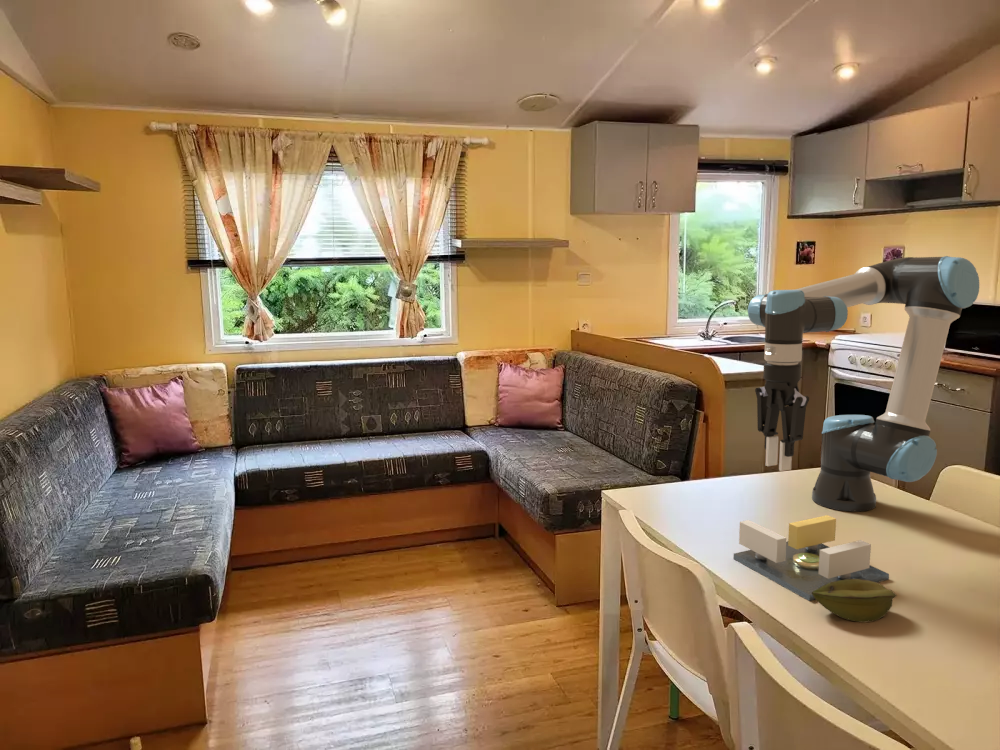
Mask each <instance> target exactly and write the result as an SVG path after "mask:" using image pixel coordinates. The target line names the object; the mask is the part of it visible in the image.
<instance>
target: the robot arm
mask: <svg viewBox="0 0 1000 750" xmlns="http://www.w3.org/2000/svg"><path fill="white" fill-rule="evenodd" d="M979 276H980V275H979V273H978V272H977V268H976V266H975V265H974V264H973V263H972V262H971V261H970V260H969V259H966V258H965V257H959V256H958V257H957V256H955V257H954V256H950V255H949V256H948V255H946V256H945V255H944V256H925V257H924V256H923V257H922V256H921V257H920V256H919V257H917V256H916V257H914V256H912V257H911V256H906V257H899V258H893V259H890V260H887V261H882V262H880V263H876V264H872V265H869V266H865V267H861V268H859V269H858V270H856V271H855V273H852V274H849V275H847V276H842V277H838V278H833V279H831V280H827V281H822V282H818V283H815V284H810V285H807V286H804V287H800V288H796V289H795V288H794V289H774V290H770V291H769V292H768V293H765V294H757V295H755V296H754V297H753V298H752V299H751V300H750V301H749V303H748V306H747V316H748V318H749V319H748V320H750V322H751V323H752V324H754V325H756V326H759V327H760V326H761V327H763V328H764V356H763V358H764V360H765V361H766V362H764V364H763V379H764V381H765V383H764V386H762V387H755V389H754V392H755V395H756V404H757V405H756V407H757V411H756V413H757V417H756V419H757V431H758V432H761V433H762V434H763V436H764V450H765V467H766V466H767V467H771V466H777V465H778V471H780V472H785V471H791V470H792V460H793V459H792V458H793V456H794V455H795V454H794V453H795V451H794V450H795V442H797V441H801V440H803V437H804V429H805V420H806V411H807V409H806V408H807V407H808V404H809V401H810V397H809V396H808V395H803V394H802V393H800V389H799V386H798V385H799V382H800V381H801V378H802V364H801V363H800V362H802V360H803V358H802V357H803V337H804V334H805V333H819V332H820V333H822V332H826V333H827V332H828V333H829V332H832V331H836V330H838V329H841V328H842V327H843V326H844V325H845V323H846V322H847V319H848V314H849V313H848V312H849V311H848V308H850V307H851V308H852V307H854V306H858V305H861V304H863V305H866V306H873V305H877V304H883V303H884V304H898V305H904V311H905V312H906V313H907V315H908V317H909V318H908V323H907V326H906V330H905V335H904V338H903V342H902V345H901V350H900V353H899V357H898V362H897V365H896V370H895V374H894V377H893V382H892V386H891V388H890V389H891V390H890V393H889V396H888V401H887V404H886V409H885V412H884V413H883V414H881V415H879V416H877V417H876V419H875V420H874V417H873V416H871V415H865V414H839V415H831V416H828V417H826V418H825V419H824V421H823V426H822V431H821V451H820V454H821V455H820V457H821V458H820V471H819V474H818V477H817V478H816V481H815V483H814V486H813V487H812V493H811V499H812V501H813V502H814V503H815V504H818V505H819V506H821V507H822V506H823V507H825V508H827V509H833V510H836V511H837V510H838V511H844V512H865V511H866V512H867V511H870V510H873V509H875V507H876V506H877V495H876V493H875V490H874V487H873V482H872V478H871V473H873V474H876V475H881V476H883V477H887V478H889V479H891V480H895V481H901V482H906V483H912V482H917V481H919V480H920V479H922V478H923V477H924V476H926V475H927V474H928V473H929V472H930V471H931V469H932V468H933V466H934V464H935V461H936V459H937V456H938V449H937V444H936V442H935V440H934V439H933V438H931V437H930V434H931V428H930V426H929V425H928V424H927V422H926V420H927V416H928V412H929V408H930V404H931V401H932V397H933V394H934V393H933V392H934V388H935V385H936V380H937V377H938V373H939V368H940V365H941V361H942V357H943V355H944V350H945V347H946V343H947V338H948V334H949V329H950V326H951V324H952V323H953V322H954V321H956V320H957V319H959V318H960V317H961V315H962V310H963V309H966V308H969V307H971V306H972V305H973V304H974V302H975V303H976V301H977V299H978V296H979V293H980V277H979ZM780 415H781V416H780ZM779 416H780V417H781V427H782V439H780V441H779V436H778V434H779V432H777V427H778V422H779V418H780V417H779ZM778 454H779V460H778ZM778 461H779V463H778Z"/></svg>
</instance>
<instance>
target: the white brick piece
mask: <svg viewBox="0 0 1000 750" xmlns="http://www.w3.org/2000/svg"><path fill="white" fill-rule="evenodd" d="M828 547H829V548H825V549H821V550H820V553H819V572H818V574H820V575H822V576H824V577H826V578H828V579H829V578H833V577H837V576H838V577H839V578H841V579H850V578H851V573H852V572H856V571H860V570H864V569H868V568H870V565H871V553H872V552H871V551H872V544H871V543H869V542H866V541H864V540H862V539H859V540H856V541H851V542H847V543H843V544H838V545H834V546H828Z"/></svg>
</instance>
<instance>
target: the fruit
mask: <svg viewBox="0 0 1000 750" xmlns="http://www.w3.org/2000/svg"><path fill="white" fill-rule="evenodd" d="M812 595H813V596H814V598H815V600H816V602H817V603H819V605H820V606H822V607H823V608H824V609H826V610H827V611H828V612H830V613H832V614H834V615H836V616H837V617H840V618H841V619H844V620H848V621H853V622H859V623H869V622H875V621H878V620H879V619H881V618H883V617H884V616H885V615H887V614H888V612H889V611H890V610H891V608H892V606H893V599H895V598H896V597H897V594H896V593H895V592H894V591H892V590H891V589H887V588H886V587H885V586H884V585H883V584H881V583H880V582H878V583H876V582H873V581H869V580H862V579H845V580H839V581H834V582H831V583H828V584H826V585H823V586H822V587H820V588H818V589H817V590H815V591H813V592H812Z"/></svg>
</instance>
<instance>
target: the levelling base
mask: <svg viewBox="0 0 1000 750" xmlns="http://www.w3.org/2000/svg"><path fill="white" fill-rule="evenodd" d="M829 547H830V546H828V545H826V544H825V543H822V544H818V547H817V550H808V549H806V548H801V549H795V548H793V547H790V546H788V540H786V559H785V561H783V562H778V563H775V562H774V561H772V560H770V559H768V558H767V559H765V560H761V559H757V558H756V557H755V553H756V552H754V551H752V550H750V549H748V550H744V551H740V552H735V553H733V560H735V561H736V562H738V563H740V564H741V565H743V566H745V567H747V568H749V569H751V570H753V571H755V572H756V573H758V574H759V575H762V576H763V577H765V578H767V579H768V580H771V581H772V582H774V583H776V584H778V585H779V586H782V587H783V588H785V589H787V590H789V591H791V592H792V593H794V594H796V595H798V596H800V597H802V598H803V599H805V600H807V601H808V602H811V601H814V600H816V599H815V598H814V596H813V595H812V592H813V591H815V590H817V589H818V588H820V587H822V586H823V585H826V584H828V583H831V582H834V581H839V580H845V579H841V578H839V577H838V576H837V577H833V578H829V579H828V578H826V577H824V576H822V575H820V574H818V572H819V553H820V550H821V549H825V548H829ZM850 579H862V580H869V581H873V582H876V583H881V582H884V581H888V580H889V579H890V574H889V573H888V572H886V571H884V570H881V569H879V568H877V567H875V566H872V565H871V564H870V568H868V569H864V570H860V571H856V572H852V573H851V578H850Z"/></svg>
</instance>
